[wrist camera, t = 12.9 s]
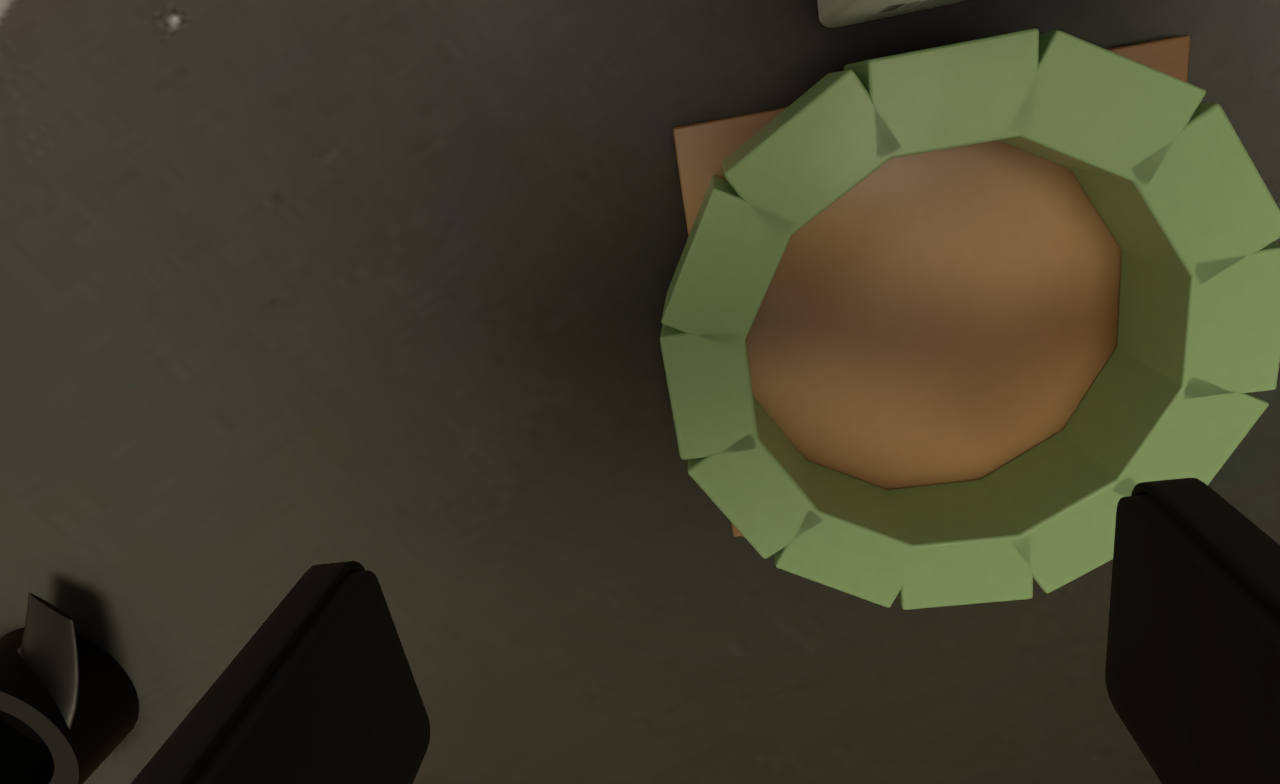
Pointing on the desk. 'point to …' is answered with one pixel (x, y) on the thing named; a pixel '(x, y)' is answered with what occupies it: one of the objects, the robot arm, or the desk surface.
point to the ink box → (870, 10)
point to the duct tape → (58, 701)
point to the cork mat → (932, 304)
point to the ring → (1117, 400)
